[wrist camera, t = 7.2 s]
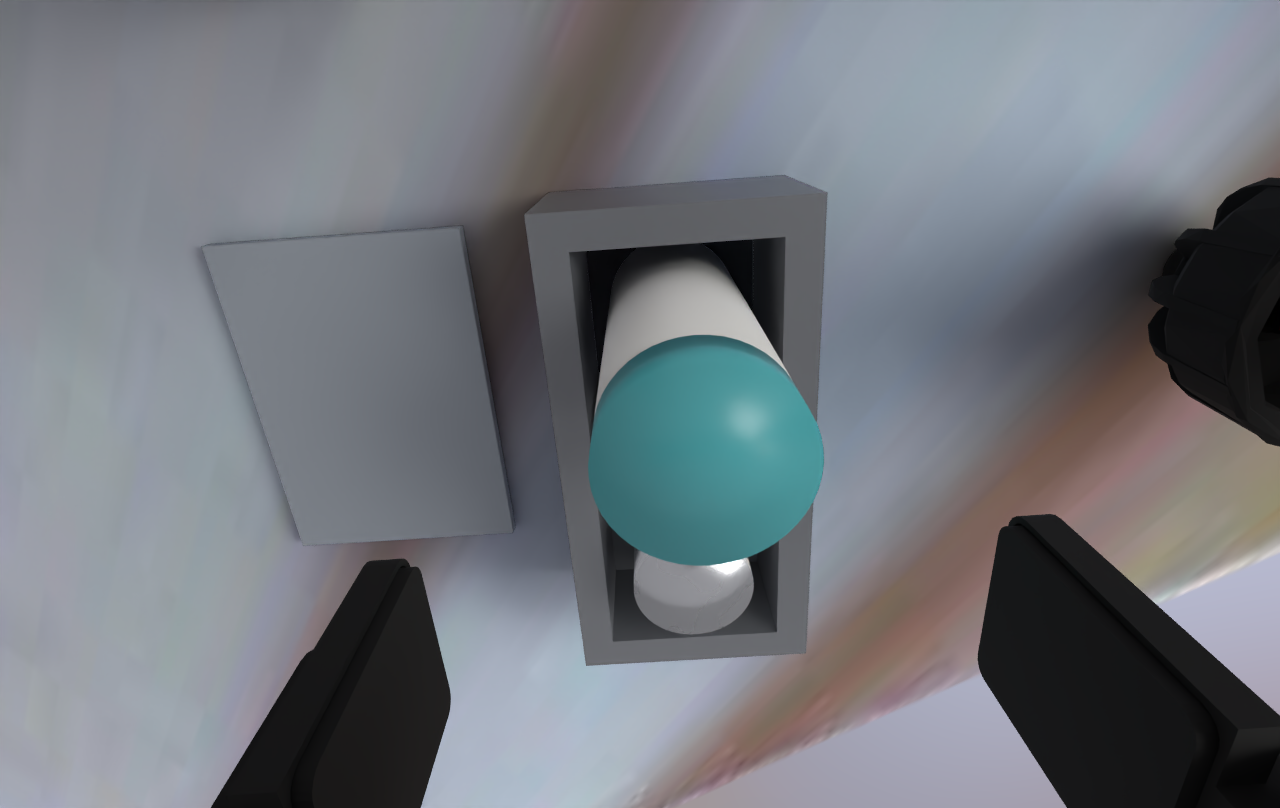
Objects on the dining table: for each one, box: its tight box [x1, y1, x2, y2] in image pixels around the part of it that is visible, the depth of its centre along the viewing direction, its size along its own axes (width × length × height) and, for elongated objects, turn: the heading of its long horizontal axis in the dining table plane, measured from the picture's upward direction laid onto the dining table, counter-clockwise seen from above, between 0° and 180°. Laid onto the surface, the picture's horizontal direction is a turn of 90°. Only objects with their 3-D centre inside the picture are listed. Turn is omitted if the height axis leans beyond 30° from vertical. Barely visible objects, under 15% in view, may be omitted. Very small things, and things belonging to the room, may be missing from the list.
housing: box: [524, 175, 827, 666], centre depth 26 cm, size 18×9×6 cm, turn 4°
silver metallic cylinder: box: [634, 547, 754, 634], centre depth 26 cm, size 4×4×5 cm
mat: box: [201, 226, 515, 546], centre depth 28 cm, size 14×10×1 cm
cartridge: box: [588, 243, 824, 566], centre depth 20 cm, size 5×5×14 cm
